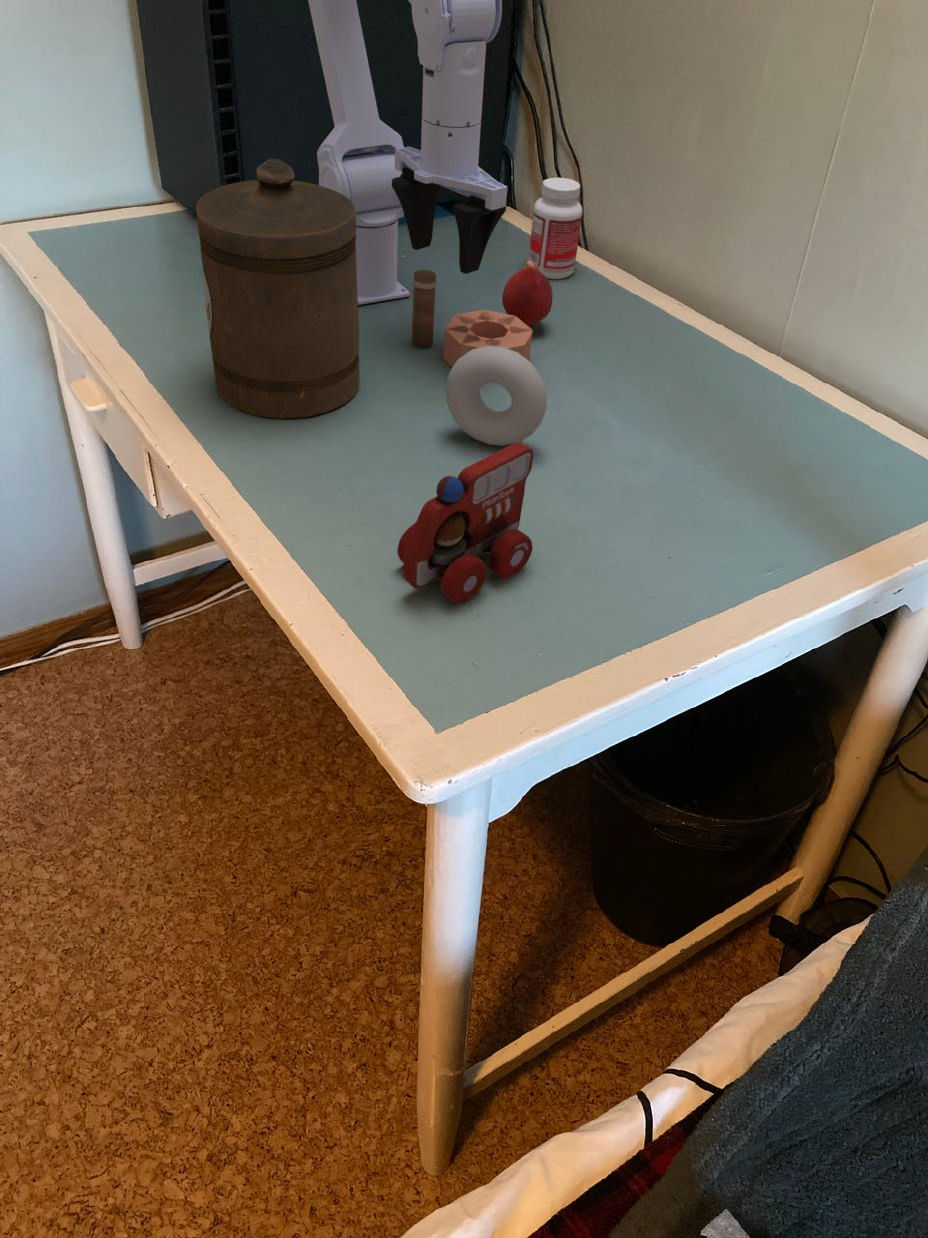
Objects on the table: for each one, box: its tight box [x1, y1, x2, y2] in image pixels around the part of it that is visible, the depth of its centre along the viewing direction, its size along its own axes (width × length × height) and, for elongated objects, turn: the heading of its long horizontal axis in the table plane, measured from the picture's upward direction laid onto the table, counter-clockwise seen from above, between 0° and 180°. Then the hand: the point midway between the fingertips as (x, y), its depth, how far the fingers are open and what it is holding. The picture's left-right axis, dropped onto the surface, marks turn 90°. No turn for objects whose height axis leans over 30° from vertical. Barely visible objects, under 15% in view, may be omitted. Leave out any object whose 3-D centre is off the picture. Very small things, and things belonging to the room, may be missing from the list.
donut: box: [445, 346, 548, 447], centre depth 92 cm, size 10×4×10 cm, turn 71°
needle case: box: [411, 269, 437, 349], centre depth 107 cm, size 2×2×8 cm
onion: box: [501, 260, 554, 328], centre depth 111 cm, size 6×6×8 cm
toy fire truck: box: [396, 442, 534, 604], centre depth 77 cm, size 7×12×10 cm, turn 132°
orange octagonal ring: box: [442, 309, 534, 369], centre depth 107 cm, size 9×9×4 cm
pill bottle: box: [527, 177, 583, 280], centre depth 123 cm, size 6×6×11 cm
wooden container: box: [195, 158, 360, 419], centre depth 94 cm, size 15×15×22 cm
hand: (445, 258), depth 102 cm, fingers open, 7 cm apart
